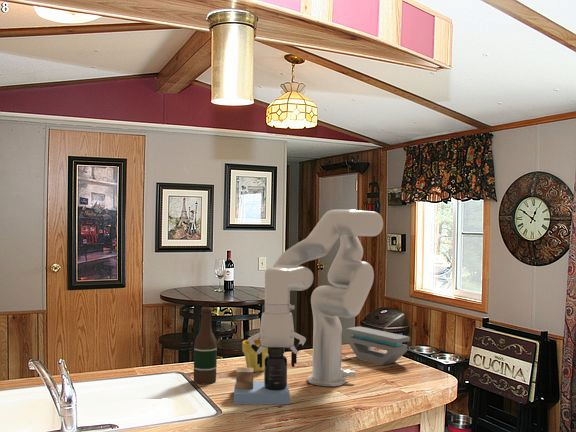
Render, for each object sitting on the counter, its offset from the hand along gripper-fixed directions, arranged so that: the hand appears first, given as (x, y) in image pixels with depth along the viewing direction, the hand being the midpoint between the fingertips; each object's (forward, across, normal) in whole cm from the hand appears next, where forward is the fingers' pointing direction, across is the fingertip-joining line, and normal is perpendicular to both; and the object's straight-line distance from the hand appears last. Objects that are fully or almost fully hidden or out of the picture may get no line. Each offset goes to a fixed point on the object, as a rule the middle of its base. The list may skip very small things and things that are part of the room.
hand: (276, 366), depth 167 cm
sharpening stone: (+11, -41, -45) cm, 62 cm away
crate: (+6, +10, 0) cm, 11 cm away
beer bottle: (+9, +23, -16) cm, 29 cm away
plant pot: (+10, +6, -31) cm, 33 cm away
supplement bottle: (+6, 0, 0) cm, 6 cm away
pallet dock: (+9, +5, +1) cm, 10 cm away
